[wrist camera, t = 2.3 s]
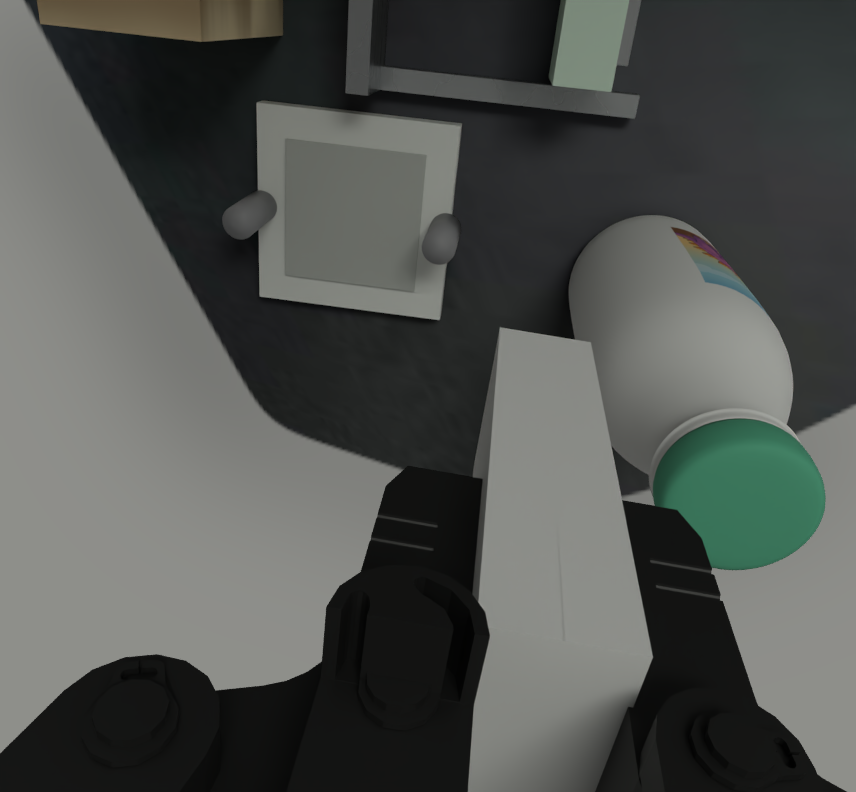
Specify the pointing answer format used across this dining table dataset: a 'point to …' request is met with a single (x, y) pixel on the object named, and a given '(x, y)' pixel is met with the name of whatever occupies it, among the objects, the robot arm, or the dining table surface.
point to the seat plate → (352, 208)
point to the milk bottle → (696, 388)
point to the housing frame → (457, 75)
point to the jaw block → (169, 17)
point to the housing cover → (592, 42)
